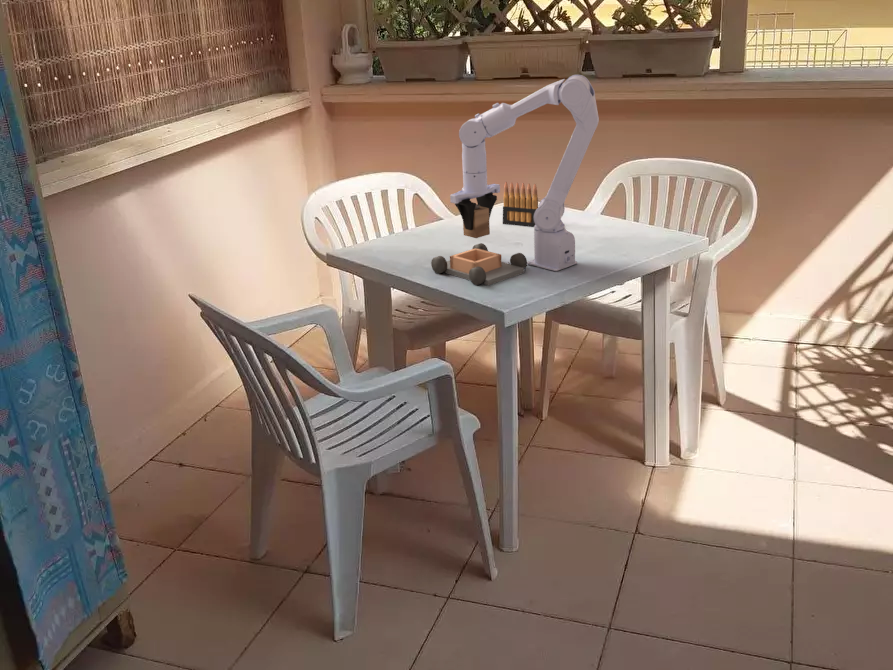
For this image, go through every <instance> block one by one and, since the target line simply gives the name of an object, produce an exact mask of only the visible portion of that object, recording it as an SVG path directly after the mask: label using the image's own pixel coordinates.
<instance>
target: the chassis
mask: <svg viewBox="0 0 893 670" xmlns="http://www.w3.org/2000/svg"><path fill="white" fill-rule="evenodd" d="M527 262H528V260H527V258H526V255H525V254H524V253H521V252H516V253H514V254H512V255H511V256H510V259H509V263H506V262H504V261H502V254H500V253H497V252H492V251H489V249H488V247H487V245H485V244H484V243H481V242H480V243H477V244H474V245H473V246H472V249H469V250H468V249H467V250H466V251H463V252H460V253H456V254H451V255H450V256H449V260H448V261H447V260H446V258H445V257H444V256H443V255H438V256H435V257H433V258H432V259H431V261H430V265H431V269H432V270H433V272H434V273H435V274H437V275H440V274H443V273H444V274H448V275H451V276H455V277H458V278H462V279H465V280H468V281H470V282H471V284H473V286H474V285H475V286H479V285H484V286H490V285H493V284H494V285H495V284H496V283H497V284H498V283H499V282H502V281H504V280H507V279H510V278H514V277H515V276H519V275H521V274H524V273H525V269H526V267H528V266H527V265H528V264H527Z"/></svg>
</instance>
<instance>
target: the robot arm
mask: <svg viewBox="0 0 893 670" xmlns="http://www.w3.org/2000/svg"><path fill="white" fill-rule="evenodd" d="M547 104H549V105H555V106H559V105H560V104H562V105H563V106H564V107H565V108H566V109H567V110H568V111H569V112H570V114H571V115H572V118H573V120H574V122H575V127H574V129H573V132H572V134H571V137H570V139H569V141H568V144H567V146H566V147H565V148H566V149H565V150H564V153H563V155H562V158H561V161H560V162H559V165H558V167H557V170H556V172H555V173H554V177H553V180H552V181H551V183H550V187H549V189H548V191H547V194H546V195H545V196H544V197H543V198H542V199H541V200H540V202H538V208H537V209H536V211H535V213H534V222H535V224H536V225H535V226H534V227H533V228H534V229H533V233H534V235H533V236H534V238H533V239H534V240H533V241H534V243H533V244H534V246H533V247H534V255H533V256H534V259H531V260H527V265H528V266H529V265H530V266H533V267H534V266H535V267H537V268H542V269H546V270H548V271H554V272H557V271H561V270H563V269H567V268H568V267H572V266H575V265H577V264H578V261H576V238H575V235H574V234H573V233H572V232H570V231H568V230H567V229H566V228H565V227H566V226H565V223H564V222H563V221H562V217H563V216H564V213H565V202H566V199H567V196H568V194H569V192H570V189H571V187H572V185H573V183H574V180H575V177H576V175H577V174H578V171H579V169H580V166H581V164H582V161H583V160H584V157H585V155H586V152H587V150H588V148H589V145H590V143H591V141H592V139H593V136H594V134H595V131H596V130H597V128H598V125H599V122H600V119H599V113H598V105H597V101H596V91H595V89H594V87H593V85H592V84H591V82H590V81H589V79H588V78H587V77H586V76H585V75H582V74H573V75H571V76H569V77H568V78H567V79H565V78H563V79H560V80H558V81H555V82H552V83H550V84H547V85H545V86H544V87H542V88H540V89H538V90H536V91H535V92H532V93H531V94H529V95H528V96H525V97H524V98H522V99H521V100H518V101H516V102H515V103H513V104H508V103H506V102H501V103H499V102H496V103H494V104H492V108H490V109H488V110H487V111H484V112H482V113H477V114H475V115H474V118H470V119H468V120H467V121H465V122H464V123H463V124H462V125H461V126H460V128H459V130H458V137H459V140H460V142H461V148H462V150H461V151H462V152H461V160H462V161H461V162H462V163H461V164H462V185H463V186H462V187H461V190H459V191H457V192H455V193H451V194H450V195H449V197H450V198H449V199H450V203H452V204H454V206H456V208H457V210H458V212H459V214H460V216H461V218H462V223H463V222H464V226H465V229H468V230H473V225H474V210H475V206H476V204H478V205H480V206H481V207H486V208H489V220H490V218H491V214H492V212H493V211H492V210H493V208H494V206H495V204H496V202H497V201H498V197H497V195H496V194H498V193H501V184H497V183H491V184H488V170H487V169H488V167H487V163H488V162H487V150H486V138H493V137H494V136H496V135H498V134H500V133H502V132H505V131H506V130H508V129H510V128H512V127H514V126H515V125H516V121H517V119H518V118H519V117H521V116H523V115H525V114H528V113H530V112H532V111H534V110H536V109H538V108H541V107H542V106H545V105H547ZM472 199H476V202H477V203H476V202H472Z"/></svg>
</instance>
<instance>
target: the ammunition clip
mask: <svg viewBox="0 0 893 670" xmlns="http://www.w3.org/2000/svg"><path fill="white" fill-rule="evenodd" d="M503 186H504V187H503V197H502V199H503V206H502V225H507V226H508V225H509V226H519V227H528V228H534V226H535V225H536V224H535V222H534V213H535V211H536V209H537V208H538V207H539V198H538V189H537V188H538V187H537V183H534V184H533V187H531V184H530V183H527V187H525V183H524V182H522V183H521V189H520V185H519V183H518V182H516V183H515V187H514V183H513V181H511V182H510V184H509V185H508V182H507V181H505V182H504V185H503Z"/></svg>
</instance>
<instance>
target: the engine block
mask: <svg viewBox="0 0 893 670" xmlns="http://www.w3.org/2000/svg"><path fill="white" fill-rule="evenodd" d="M462 226H463V228H462V230H463V231H462V232H463V236H466V237H469V238H473V239H479V238H482V237H486V236H488V235H490V234H491V233H490V230H491V229H490V219H489V208H486V207H481V206H480V205H478V203H476V206H475V210H474V225H473V230H468V229H465V226H464V222H463V221H462Z"/></svg>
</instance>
